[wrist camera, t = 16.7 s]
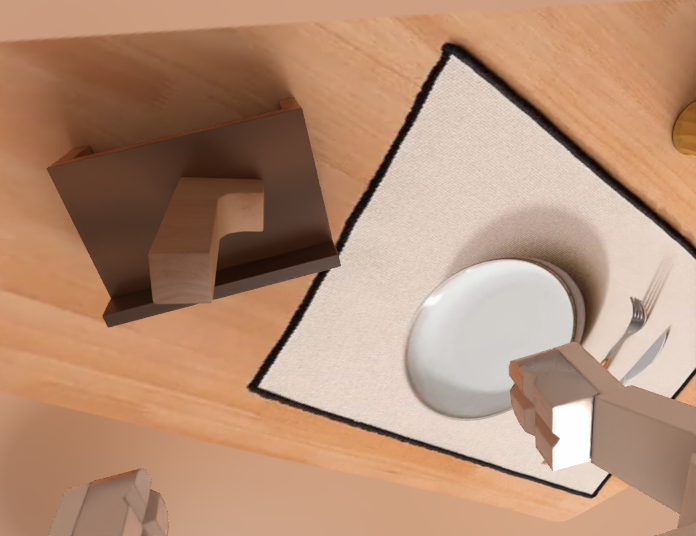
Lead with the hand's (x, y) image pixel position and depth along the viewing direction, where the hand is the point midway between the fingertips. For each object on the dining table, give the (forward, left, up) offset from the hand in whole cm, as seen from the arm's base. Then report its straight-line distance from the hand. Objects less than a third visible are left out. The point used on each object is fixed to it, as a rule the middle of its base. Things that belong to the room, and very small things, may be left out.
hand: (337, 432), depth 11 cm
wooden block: (+4, -5, -33) cm, 33 cm away
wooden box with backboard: (+5, -7, -39) cm, 40 cm away
